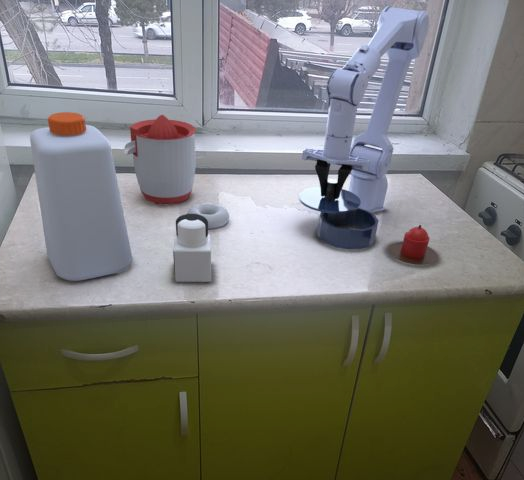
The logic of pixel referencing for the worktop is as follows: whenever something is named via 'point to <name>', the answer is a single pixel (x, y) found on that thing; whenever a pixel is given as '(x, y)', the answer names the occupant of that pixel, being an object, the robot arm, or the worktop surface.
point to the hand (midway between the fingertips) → (330, 196)
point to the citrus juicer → (163, 159)
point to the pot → (347, 236)
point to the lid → (329, 199)
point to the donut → (211, 214)
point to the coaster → (427, 259)
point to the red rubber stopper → (415, 243)
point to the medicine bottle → (192, 249)
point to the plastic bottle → (79, 199)
